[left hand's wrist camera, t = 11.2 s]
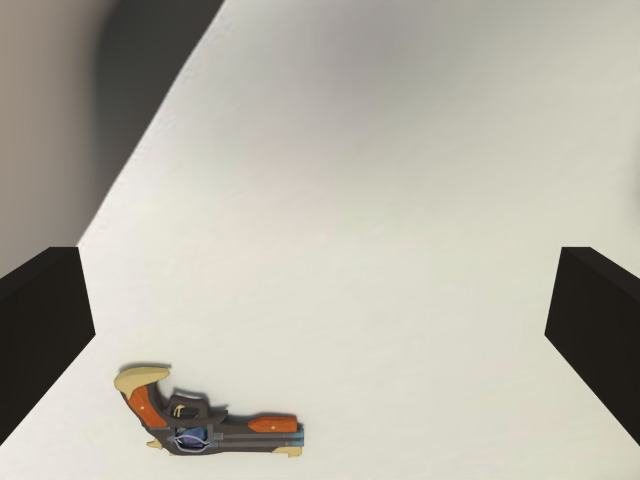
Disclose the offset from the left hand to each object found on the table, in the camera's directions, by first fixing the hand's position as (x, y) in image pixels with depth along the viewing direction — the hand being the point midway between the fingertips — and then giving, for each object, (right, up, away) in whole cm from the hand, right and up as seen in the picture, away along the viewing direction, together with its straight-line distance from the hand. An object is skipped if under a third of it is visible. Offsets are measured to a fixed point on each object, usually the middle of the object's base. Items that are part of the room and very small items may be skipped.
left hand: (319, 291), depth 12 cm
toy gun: (-11, -16, +35) cm, 40 cm away
